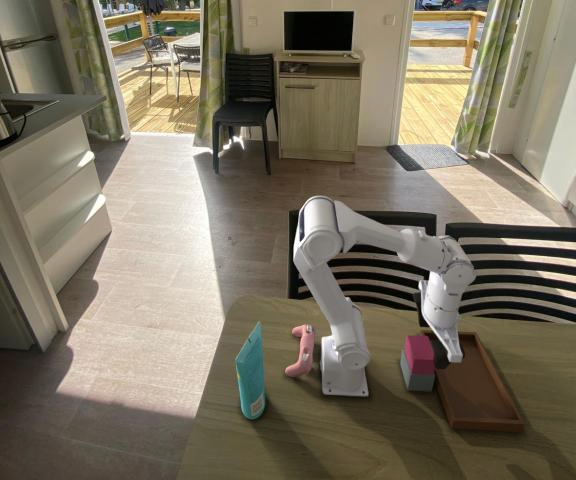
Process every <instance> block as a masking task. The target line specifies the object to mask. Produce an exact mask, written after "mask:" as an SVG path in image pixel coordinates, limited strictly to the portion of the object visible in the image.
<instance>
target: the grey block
mask: <svg viewBox="0 0 576 480" xmlns="http://www.w3.org/2000/svg"><path fill="white" fill-rule="evenodd" d="M404 348H405V347H403V348H402V351H401V355H400V361H399V364H400V368H401V372H402V375H403V378H404V383H405V386H406V389H407V391H413V392H414V391H415V392H432V391H433V386H434V383H435V381H434V379H435V374H433V375H432V374H412V373H411V370H410V367H409V363H408V360H407V357H406V353H405V350H404Z"/></svg>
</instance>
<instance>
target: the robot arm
mask: <svg viewBox="0 0 576 480" xmlns="http://www.w3.org/2000/svg"><path fill="white" fill-rule="evenodd" d="M298 212H299V214H298V223H297V227H296V232H295V238H294V244H293V259H292V261H293V263H294V265H295V267H296V269H297V270H298V272H299V274H300V276H301V277H302V279H303V281H304V283H305V284H306V287H307V288H308V290H309V291H310V293H311V295H312V297H313V298H314V300H315V302H316V303H317V305H318V307H319V309H320V310H321V312H322V313H323V315H324V317H325V319H326V320H327V322H328V324H329V326H330V331H331V335H328V336H322V337H321V346H320V360H319V369H320V370H319V371H320V372H321V386H322V393H323V395H327V396H345V397H368V396H369V390H368V383H367V377H366V371H365V368H366V366H368V364H369V363H370V361H371V353H370V351H369V348H368V342H367V337H366V332H365V327H364V323H363V322H364V321H363V314H362V309H361V308H360V307H359V305H357V304H356V303H354V302H353V301H352V300H351V298H350V297H348V296H347V297H346V295H344V293H343V291H342V289H341V287H340V285H339V284H338V281H337V280H336V278H335V275H334V274H333V272H332V270H331V269H330V266H329V265H328V262H329V261H330V260H332V259H333V258H335V257H336V256H337V255H338V254H339V253H340V252H341V251H342V254H346V253H348V252H349V251H350V249H352V248H353V246H354V245H355V244H357V243H361V244H365V245H369V246H372V247H377V248H380V249H383V250H387V251H390V252H391V251H392V252H395V253H396V254H397V257H398V258H399V259H400V261H401V262H403V263H406V264H409V265H412V266H414V267H417V268H420V269H423V270H426V271H429V278H428V280H426V279H425V280H424V279H423V280H421V279H420V280H419V281H418V289H419V292H414V293H413V294H412V297H413V300H414V302H415V305H416V311H417V321H418V325H419V327H420V328H430V329H431V330H433V331H434V333H435V334H436V335H437V337H438V338H439V339H440V341H433V340H431V341H430V342H431V345H432V347H433V351H434V358H433V363H434V366H435V368H436V369H446V368H447V367H448V366H449V365H450V364H451V363H452V362H460V363H461V360H462V359H464V358H465V351H464V349H463V347H462V345H461V344H459V338H458V332H459V331H458V324H457V323H461V321H462V317H461V314H460V312H459V309H460V305H461V301H462V296H463V294H464V292H466V289H467V287H468V286H469V285H470V284H472V283H473V282H475V280H476V278H477V274H476V273H475V267H474V264H473V263H472V262H471V260H470V259H469V257H468V255H467V254H466V253H465V251H464V249H463V248H462V247H461V245H460V243H459V242H458V241H457V240H456V239H455V238H453V237H452V236H451V235H440V236H436V235H433V236H431V235H428V234H427V233H426V232H425V231H424V230H418V231H417V230H414V229H411V228H404V229H402V230H400V231H399V230H396V229H394V228H392V227H389V226H387V225H385V224H383V223H380V222H378V221H376V220H374V219H372V218H369V217H367V216H364V215H362V214H361V213H358V212H356V211H354V210H353V209H351V208H350V207H349V206H348V205H346V204H344V203H343V201H340V200H336V199H331V198H330V197H328V196H326V195H315V196H311V197H309V198H308V199H307V200H306V201H305V203H304V204H303V206H302V207H301V209H300V210H299V211H298Z"/></svg>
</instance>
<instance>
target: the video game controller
mask: <svg viewBox="0 0 576 480" xmlns="http://www.w3.org/2000/svg"><path fill="white" fill-rule="evenodd" d="M316 332H317V329H316V327H315V326H314V325H312V324H308V323H306V324H302V325H299V326H295V327H294V328H293V329H292V331H291V333H292V335H293V336H294V337H296V338H300V343H299V349H300V350H299V356H298V360H297V362H295V363H294V364H291V365H289V366H287V367H286V368H285V370H284V372H285V375H286V376H287V377H290V378H298V377H301V376H304V375H308V374H309V372H310V371H311V370H312V369H313V366H314V365H313V364H314V362H313V353H314V346H315V338H316V337H315V336H316Z"/></svg>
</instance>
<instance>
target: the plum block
mask: <svg viewBox="0 0 576 480" xmlns="http://www.w3.org/2000/svg"><path fill="white" fill-rule="evenodd" d="M404 343H405V344H404V347H403V348H404V350H405V353H406V357H407V360H408V363H409V367H410V370H411V373H412V374H432V375H433V374H434V370H435V366H434V363H433V358H434V351H433V349H432V346H431V343H430V341H429V338H428V336H420V335H411V334H407V335H406V337H405V342H404Z"/></svg>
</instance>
